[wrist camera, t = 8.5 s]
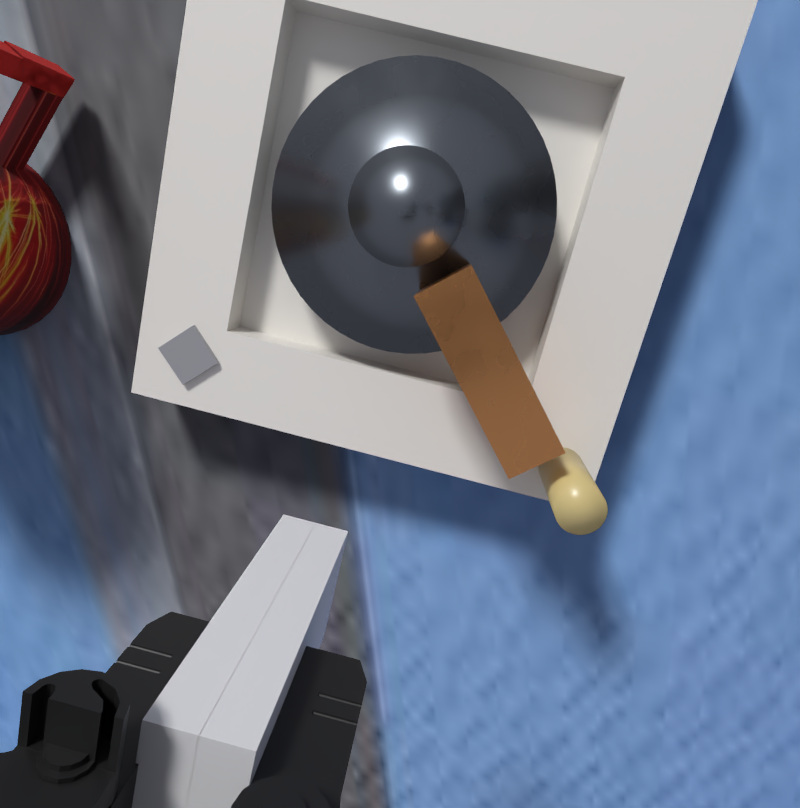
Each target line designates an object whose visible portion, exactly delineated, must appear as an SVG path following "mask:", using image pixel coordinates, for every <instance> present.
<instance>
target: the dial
mask: <svg viewBox="0 0 800 808" xmlns="http://www.w3.org/2000/svg"><path fill="white" fill-rule="evenodd" d="M271 211H272V224H273V231H274V236H275V241H276V246H277V249H278V252H279V255H280V258H281V261H282V264H283V266H284V268H285V270H286V272H287V274H288V276H289V279H290V281H291V282H292V284H293V285H294V287H295V288H296V290H297V292H298V293H299V295H300V296H301V297H302V299H303V300H304V301H305V302H306V303H307V305H308V306H309V307H310V308H311V309H312V310H313V311H314V312H315V313H316V314H317V315H318V316H319V317H320V318H321V319H322V320H323V321H324V322H325V323H327V324H328V325H330V326H331V327H332V328H334V329H335V330H337V331H338V332H339V333H341V334H343V335H345V336H347V337H348V338H350V339H352V340H354V341H356V342H359V343H361V344H364V345H366V346H369V347H371V348H375V349H379V350H384V351H388V352H395V353H404V354H422V353H431V352H437V351H442V352H443V354H444V356H445V358H446V360H447V362H448V364H449V365H450V367H451V369H452V371H453V373H454V375H455V377H456V379H457V381H458V383H459V385H460V387H461V389H462V390H463V392H464V394H465V396H466V398H467V400H468V402H469V404H470V406H471V408H472V410H473V412H474V413H475V415H476V417H477V419H478V421H479V423H480V425H481V427H482V429H483V431H484V433H485V435H486V436H487V438H488V440H489V442H490V444H491V446H492V448H493V450H494V452H495V454H496V456H497V458H498V460H499V461H500V463H501V465H502V467H503V469H504V471H505V473H506V475H507V477H508V479H511V478H513V477H515V476H517V475H519V474H521V473H524V472H526V471H528V470H530V469H532V468H534V467H537V466H539V465H541V464H543V463H545V462H547V461H550V460H552V459H554V458H556V457H558V456H560V455H563V454H565V451H564V449H563V447H562V445H561V443H560V441H559V439H558V437H557V435H556V433H555V431H554V429H553V427H552V425H551V423H550V421H549V419H548V417H547V415H546V413H545V411H544V409H543V407H542V405H541V403H540V401H539V399H538V397H537V395H536V393H535V391H534V389H533V387H532V385H531V383H530V381H529V379H528V377H527V375H526V373H525V371H524V369H523V367H522V365H521V363H520V361H519V359H518V357H517V355H516V353H515V351H514V349H513V347H512V345H511V343H510V341H509V339H508V337H507V335H506V333H505V331H504V329H503V327H502V325H501V323H500V322H502V321H503V320H504V319H506V318H507V317H508V316H509V315H510V314H511V313H512V312H513V311H514V310H515V309H516V308H517V307H518V306H519V305H520V303H521V302H522V301H523V299H524V298H525V297H526V295H527V294H528V293H529V292H530V290H531V289H532V287H533V285H534V284H535V282H536V280H537V278H538V277H539V275H540V273H541V271H542V269H543V266H544V264H545V262H546V259H547V257H548V255H549V251H550V247H551V244H552V240H553V237H554V231H555V224H556V218H557V191H556V182H555V175H554V171H553V166H552V162H551V158H550V155H549V153H548V150H547V147H546V145H545V142H544V140H543V137H542V136H541V134H540V132H539V130H538V128H537V126H536V125H535V123H534V121H533V120H532V118H531V117H530V116H529V114H528V113H527V111H526V110H525V109H524V107H523V106H522V105H521V104H520V103H519V102H518V101H517V100H516V99H515V98H514V97H513V96H512V95H511V93H510V92H509V91H508V90H506V89H505V88H504V87H502V86H501V85H500V84H499V83H497V82H496V81H495V80H493V79H492V78H490V77H489V76H487V75H485V74H483V73H482V72H480V71H478V70H476V69H474V68H472V67H469V66H467V65H464V64H462V63H459V62H456V61H452V60H448V59H444V58H439V57H432V56H420V55H413V56H397V57H392V58H388V59H383V60H378V61H375V62H373V63H370V64H367V65H364V66H361V67H359V68H357V69H355V70H353V71H351V72H349V73H348V74H346V75H344V76H342V77H341V78H339V79H338V80H336V81H335V82H334V83H332V84H331V85H329V86H328V87H327V88H326V89H324V90H323V91H322V92H321V93H320V94H319V95H318V96H317V97H316V98H315V99H314V100H313V101H312V102H311V103H310V104H309V106H308V107H307V108H306V109H305V111H304V112H303V113H302V114H301V115H300V117H299V118H298V120H297V122H296V123H295V125H294V126H293V128H292V130H291V131H290V133H289V135H288V137H287V140H286V142H285V144H284V146H283V148H282V151H281V154H280V157H279V160H278V163H277V167H276V170H275V176H274V182H273V187H272V204H271Z"/></svg>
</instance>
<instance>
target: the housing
mask: <svg viewBox="0 0 800 808" xmlns="http://www.w3.org/2000/svg"><path fill="white" fill-rule="evenodd" d="M757 1H758V0H187V4H186V11H185V18H184V25H183V32H182V39H181V46H180V53H179V60H178V67H177V74H176V81H175V88H174V95H173V102H172V109H171V116H170V123H169V130H168V137H167V144H166V151H165V158H164V165H163V172H162V179H161V186H160V193H159V200H158V207H157V214H156V221H155V228H154V235H153V242H152V249H151V256H150V263H149V270H148V277H147V284H146V291H145V298H144V305H143V312H142V320H141V327H140V334H139V341H138V348H137V355H136V362H135V369H134V376H133V383H132V390H131V392H132V393H136V394H139V395H143V396H147V397H151V398H155V399H159V400H163V401H166V402H170V403H174V404H178V405H182V406H186V407H189V408H193V409H197V410H201V411H205V412H209V413H213V414H216V415H220V416H224V417H228V418H232V419H236V420H239V421H243V422H247V423H251V424H255V425H259V426H263V427H266V428H270V429H274V430H278V431H282V432H286V433H289V434H293V435H297V436H301V437H305V438H309V439H313V440H316V441H320V442H324V443H328V444H332V445H336V446H339V447H343V448H347V449H351V450H355V451H359V452H363V453H366V454H370V455H374V456H378V457H382V458H386V459H390V460H393V461H397V462H401V463H405V464H409V465H413V466H416V467H420V468H424V469H428V470H432V471H436V472H440V473H443V474H447V475H451V476H455V477H459V478H463V479H466V480H470V481H474V482H478V483H482V484H486V485H490V486H493V487H497V488H501V489H505V490H509V491H513V492H516V493H520V494H524V495H528V496H532V497H536V498H540V499H543V500H547V501H549V502H550V504H551V507H552V510H553V513H554V515H555V518H556V521H557V523H558V524H559V525H560V526H561V528H563V529H564V530H565V531H567V532H569V533H572V534H576V535H585V534H589V533H592V532H594V531H596V530H597V529H598V528H600V527H601V526H602V524H603V523H604V521H605V519H606V517H607V512H608V507H607V503H606V500H605V498H604V497H603V495H602V493H601V492H600V490H599V488H598V487H597V485H596V483H595V480H596V477H597V474H598V471H599V468H600V466H601V463H602V460H603V457H604V454H605V451H606V448H607V445H608V442H609V439H610V436H611V433H612V430H613V427H614V424H615V421H616V418H617V415H618V412H619V409H620V406H621V403H622V400H623V398H624V395H625V392H626V389H627V386H628V383H629V380H630V377H631V374H632V371H633V368H634V365H635V362H636V359H637V356H638V353H639V350H640V347H641V344H642V341H643V338H644V335H645V332H646V330H647V327H648V324H649V321H650V318H651V315H652V312H653V309H654V306H655V303H656V300H657V297H658V294H659V291H660V288H661V285H662V282H663V279H664V276H665V273H666V270H667V267H668V264H669V262H670V259H671V256H672V253H673V250H674V247H675V244H676V241H677V238H678V235H679V232H680V229H681V226H682V223H683V220H684V217H685V214H686V211H687V208H688V205H689V202H690V199H691V196H692V194H693V191H694V188H695V185H696V182H697V179H698V176H699V173H700V170H701V167H702V164H703V161H704V158H705V155H706V152H707V149H708V146H709V143H710V140H711V137H712V134H713V131H714V128H715V126H716V123H717V120H718V117H719V114H720V111H721V108H722V105H723V102H724V99H725V96H726V93H727V90H728V87H729V84H730V81H731V78H732V75H733V72H734V69H735V66H736V63H737V60H738V58H739V55H740V52H741V49H742V46H743V43H744V40H745V37H746V34H747V31H748V28H749V25H750V22H751V19H752V16H753V13H754V10H755V7H756V4H757ZM413 55H420V56H432V57H439V58H444V59H448V60H452V61H456V62H459V63H462V64H464V65H467V66H469V67H472V68H474V69H476V70H478V71H480V72H482V73H483V74H485V75H487V76H489V77H490V78H492V79H493V80H495V81H496V82H497V83H499V84H500V85H501V86H502V87H504V88H505V89H506V90H508V91H509V92H510V93H511V95H512V96H513V97H514V98H515V99H516V100H517V101H518V102H519V103H520V104H521V105H522V106H523V107H524V109H525V110H526V111H527V113H528V114H529V116H530V117H531V118H532V120H533V121H534V123H535V125H536V126H537V128H538V130H539V132H540V134H541V136H542V137H543V140H544V142H545V145H546V147H547V150H548V153H549V155H550V158H551V162H552V166H553V171H554V175H555V182H556V191H557V218H556V224H555V231H554V237H553V240H552V244H551V247H550V251H549V255H548V257H547V259H546V262H545V264H544V266H543V269H542V271H541V273H540V275H539V277H538V278H537V280H536V282H535V284H534V285H533V287H532V289H531V290H530V292H529V293H528V294H527V295H526V297H525V298H524V299H523V301H522V302H521V303H520V305H519V306H518V307H517V308H516V309H515V310H514V311H513V312H512V313H511V314H510V315H509V316H508V317H507V318H506V319H504V320H503V321H502V322H500V323H501V325H502V327H503V329H504V331H505V333H506V335H507V337H508V339H509V341H510V343H511V345H512V347H513V349H514V351H515V353H516V355H517V357H518V359H519V361H520V363H521V365H522V367H523V369H524V371H525V373H526V375H527V377H528V379H529V381H530V383H531V385H532V387H533V389H534V391H535V393H536V395H537V397H538V399H539V401H540V403H541V405H542V407H543V409H544V411H545V413H546V415H547V417H548V419H549V421H550V423H551V425H552V427H553V429H554V431H555V433H556V435H557V437H558V439H559V441H560V443H561V445H562V447H563V449H564V451H565V454H563V455H560V456H558V457H556V458H554V459H552V460H550V461H547V462H545V463H543V464H541V465H539V466H537V467H534V468H532V469H530V470H528V471H526V472H524V473H521V474H519V475H517V476H515V477H513V478H511V479H508V477H507V475H506V473H505V471H504V469H503V467H502V465H501V463H500V461H499V460H498V458H497V456H496V454H495V452H494V450H493V448H492V446H491V444H490V442H489V440H488V438H487V436H486V435H485V433H484V431H483V429H482V427H481V425H480V423H479V421H478V419H477V417H476V415H475V413H474V412H473V410H472V408H471V406H470V404H469V402H468V400H467V398H466V396H465V394H464V392H463V390H462V389H461V387H460V385H459V383H458V381H457V379H456V377H455V375H454V373H453V371H452V369H451V367H450V365H449V364H448V362H447V360H446V358H445V356H444V354H443V352H442V351H437V352H431V353H422V354H404V353H395V352H388V351H384V350H379V349H375V348H371V347H369V346H366V345H364V344H361V343H359V342H356V341H354V340H352V339H350V338H348V337H347V336H345V335H343V334H341V333H339V332H338V331H337V330H335V329H334V328H332V327H331V326H330V325H328V324H327V323H325V322H324V321H323V320H322V319H321V318H320V317H319V316H318V315H317V314H316V313H315V312H314V311H313V310H312V309H311V308H310V307H309V306H308V305H307V303H306V302H305V301H304V300H303V299H302V297H301V296H300V295H299V293H298V292H297V290H296V288H295V287H294V285H293V284H292V282H291V281H290V279H289V276H288V274H287V272H286V270H285V268H284V266H283V264H282V261H281V258H280V255H279V252H278V249H277V246H276V241H275V236H274V231H273V224H272V211H271V204H272V187H273V182H274V176H275V170H276V167H277V163H278V160H279V157H280V154H281V151H282V148H283V146H284V144H285V142H286V140H287V137H288V135H289V133H290V131H291V130H292V128H293V126H294V125H295V123H296V122H297V120H298V118H299V117H300V115H301V114H302V113H303V112H304V111H305V109H306V108H307V107H308V106H309V104H310V103H311V102H312V101H313V100H314V99H315V98H316V97H317V96H318V95H319V94H320V93H321V92H322V91H323V90H324V89H326V88H327V87H328V86H329V85H331V84H332V83H334V82H335V81H336V80H338V79H339V78H341V77H342V76H344V75H346V74H348V73H349V72H351V71H353V70H355V69H357V68H359V67H361V66H364V65H367V64H370V63H373V62H375V61H378V60H383V59H388V58H392V57H397V56H413Z"/></svg>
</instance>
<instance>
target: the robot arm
mask: <svg viewBox="0 0 800 808" xmlns="http://www.w3.org/2000/svg"><path fill="white" fill-rule="evenodd" d="M347 534H348V531H345V530H341V529H337V528H333V527H329V526H325V525H322V524H318V523H314V522H310V521H306V520H302V519H299V518H295V517H291V516H287V515H283V516H282V518H281V519H280V520H279V522H278V523H277V525H276V526H275V528H274V529H273V531H272V532H271V534H270V535H269V536H268V538H267V539H266V541H265V542H264V544H263V545H262V547H261V548H260V550H259V551H258V552H257V554H256V555H255V557H254V558H253V560H252V561H251V563H250V564H249V565H248V567H247V568H246V570H245V571H244V573H243V574H242V576H241V577H240V579H239V580H238V581H237V583H236V584H235V586H234V587H233V589H232V590H231V592H230V593H229V595H228V596H227V597H226V599H225V600H224V602H223V603H222V605H221V606H220V608H219V609H218V611H217V612H216V613H215V615H214V616H213V618H212V619H211V621H210V622H208V621H204V620H201V619H197V618H193V617H190V616H186V615H182V614H178V613H175V612H170V613H168V614H166V615H164V616H162V617H160V618H158V619H156V620H155V621H153V622H151V623H149V624H147V625H146V626H145V627H144V629H143V630H142V631H141V632H140V633H139V634H138V636H137V637H136V638H135V639H134V640H133V641H132V643H131V645H130V647H127V649H126V650H125V651H124V652H123V653H122V654H121V656H120V657H119V658H118V660H117V662H116V663H114V664H113V665H112V666H111V667H110V668H109V670H108V671H107V672H106V673H103V672H98V671H90V670H82V669H81V670H73V671H65V672H59V673H56V674H53V675H51V676H48V677H45V678H43V679H40V680H38V681H37V682H36V683H34V684H33V685H31V686H30V687H29V688H27V689H26V690H24V691H23V696H22V706H21V715H20V725H19V735H18V745H17V746H16V748H15V749H14V750H13V751H9V752H5V753H0V808H340V797H341V792H342V788H343V784H344V779H345V775H346V771H347V766H348V762H349V757H350V753H351V749H352V744H353V740H354V736H355V731H356V727H357V723H358V718H359V714H360V709H361V705H362V701H363V696H364V692H365V688H366V683H367V681H366V678H365V675H364V672H363V669H362V665H361V662H360V660H357V659H353V658H350V657H346V656H342V655H338V654H335V653H331V652H327V651H324V650H320V649H319V648H320V645H321V642H322V640H323V637H324V633H325V629H326V625H327V620H328V616H329V612H330V607H331V603H332V599H333V594H334V590H335V586H336V582H337V577H338V573H339V569H340V564H341V560H342V556H343V551H344V547H345V543H346V539H347Z"/></svg>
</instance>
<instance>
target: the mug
mask: <svg viewBox="0 0 800 808" xmlns="http://www.w3.org/2000/svg"><path fill="white" fill-rule="evenodd" d="M0 74H2V75H5V76H8V77H10V78H13V79H15V80H18V81H20V82H23V83H22V85H21V87H20V89H19V91H18V93H17V95H16V97H15V98H14V100H13V102H12V104H11V106H10V108H9V110H8V112H7V113H6V115H5V117H4V119H3V121H2V123H1V125H0V335H4V334H10V333H13V332H17V331H20V330H23V329H26V328H28V327H30V326H32V325H33V324H35V323H37V322H39V321H40V320H41V319H42V318H44V317H45V316H46V315H47V314H48V313H49V312H50V311H51V310H52V309H53V307H54V306H55V305H56V303H57V302H58V300H59V299H60V297H61V296H62V293H63V291H64V288H65V286H66V284H67V281H68V277H69V272H70V267H71V240H70V234H69V229H68V224H67V221H66V219H65V216H64V213H63V211H62V208H61V206H60V204H59V202H58V200H57V199H56V197H55V195H54V193H53V192H52V190H51V188H50V187H49V186H48V185H47V184H46V182H45V181H44V180H43V179H42V178H41V176H40V175H39V174H38V173H37V172H36V171H35V170H33V169H32V168H31V167H30V166H29V165H28V164H27V162H28V160H29V158H30V157H31V155H32V153H33V151H34V149H35V148H36V146H37V144H38V142H39V140H40V139H41V137H42V135H43V133H44V131H45V129H46V128H47V126H48V124H49V122H50V120H51V119H52V117H53V115H54V113H55V111H56V110H57V108H58V106H59V104H60V102H61V101H62V99H63V98H64V96H65V95H66V93H67V92H68V90H69V89H70V87H71V85H72V84H73V82H74V80H75V79H74V78H73V77H71V76H70V75H69V74H68V73H67V72H66V71H64V70H63V69H62V68H61V67H60V66H59V65H57V64H55V63H52V62H50V61H48V60H46V59H44V58H42V57H39V56H37V55H35V54H33V53H31V52H29V51H27V50H24V49H22V48H20V47H18V46H16V45H14V44H11V43H9V42H7V41H4V43H3V42H1V41H0Z"/></svg>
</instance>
